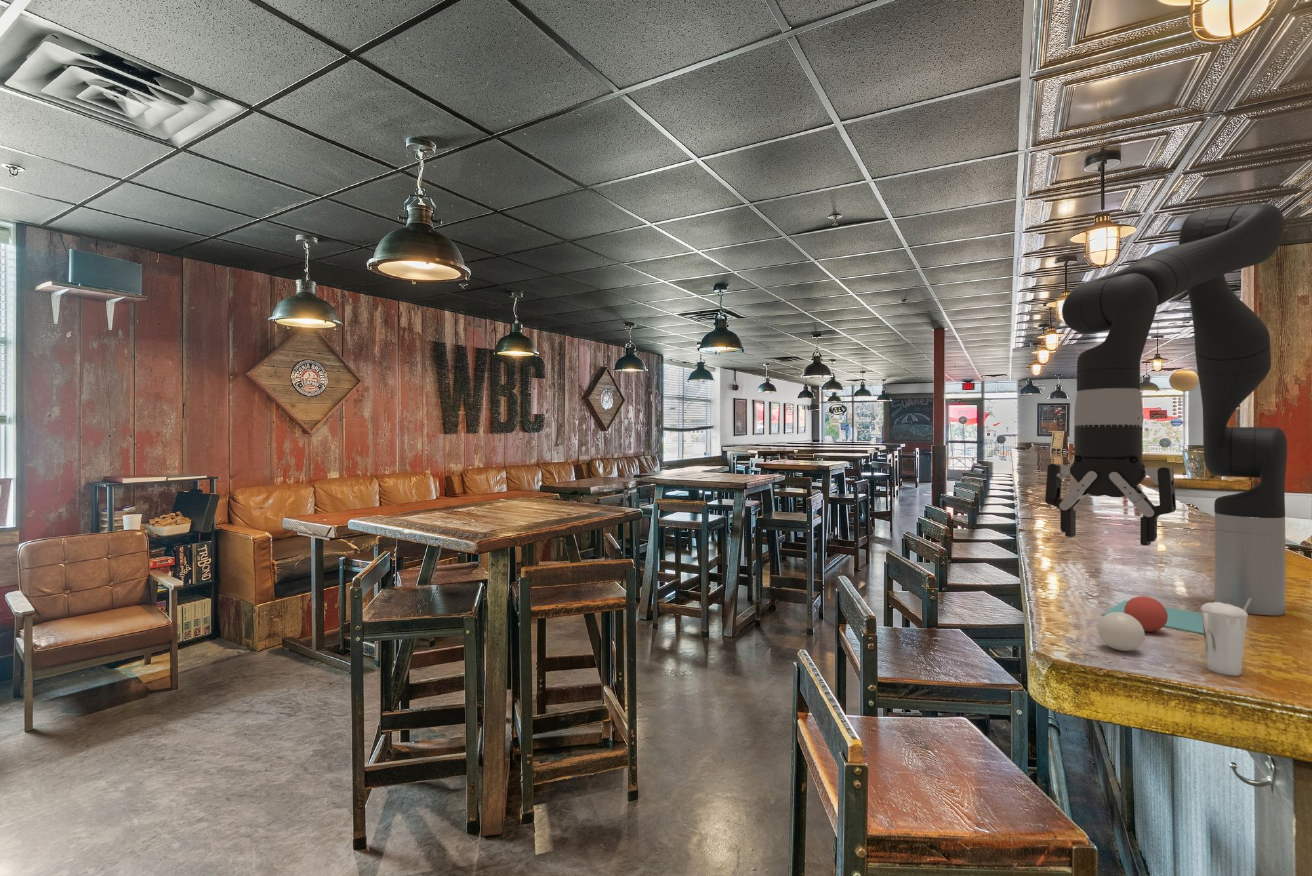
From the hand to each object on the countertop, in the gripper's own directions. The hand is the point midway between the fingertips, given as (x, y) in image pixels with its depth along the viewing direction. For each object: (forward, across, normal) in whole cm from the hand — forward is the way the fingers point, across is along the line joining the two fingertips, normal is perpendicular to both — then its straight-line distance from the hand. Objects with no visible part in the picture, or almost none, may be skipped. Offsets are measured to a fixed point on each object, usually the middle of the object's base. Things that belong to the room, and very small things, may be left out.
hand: (1106, 540), depth 83 cm
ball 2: (+14, 0, +23) cm, 27 cm away
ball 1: (+14, 0, +9) cm, 17 cm away
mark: (+16, 0, +35) cm, 39 cm away
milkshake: (+17, +11, +10) cm, 23 cm away
